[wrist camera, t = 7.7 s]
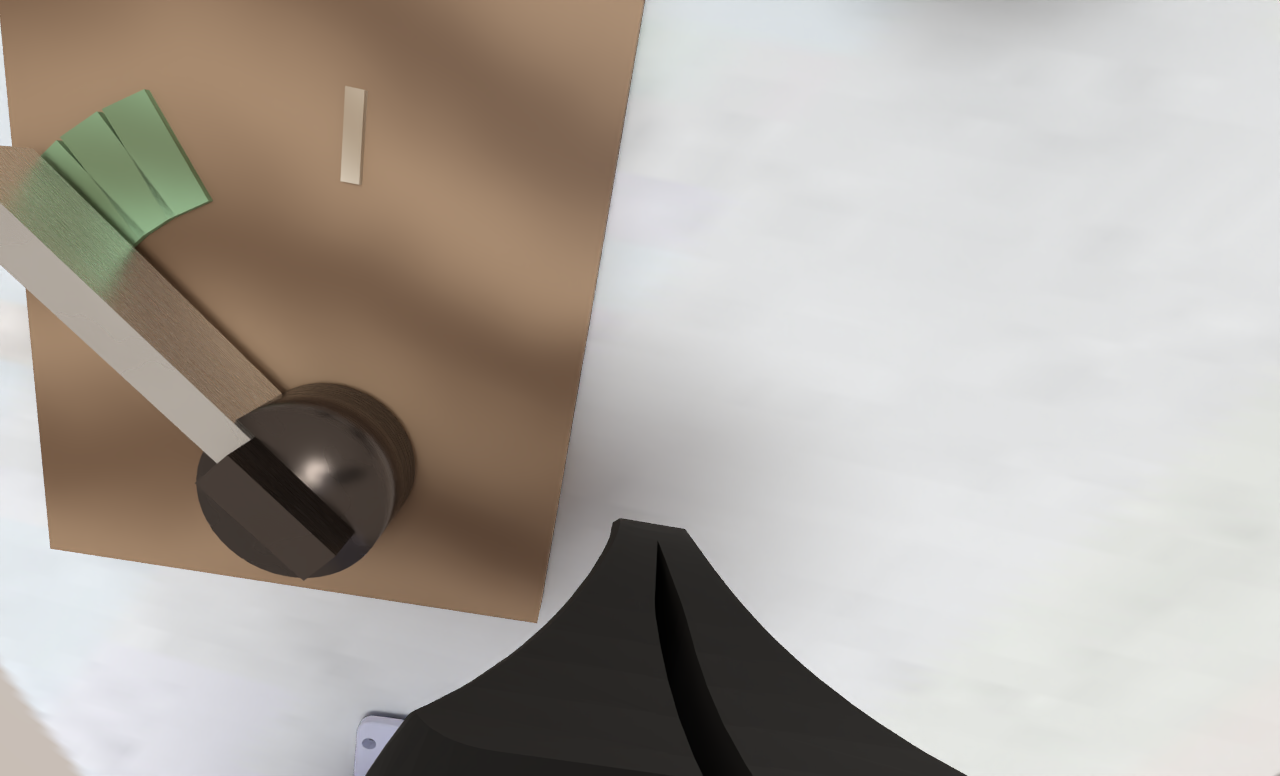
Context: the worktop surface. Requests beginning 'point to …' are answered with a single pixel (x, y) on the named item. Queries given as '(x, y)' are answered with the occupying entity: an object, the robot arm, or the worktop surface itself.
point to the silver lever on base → (211, 389)
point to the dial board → (337, 253)
